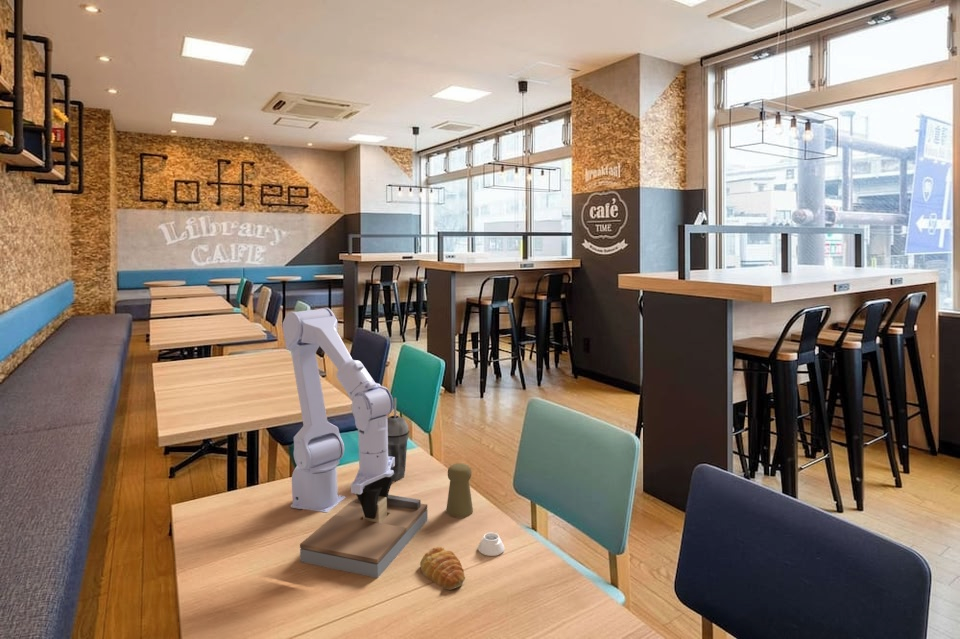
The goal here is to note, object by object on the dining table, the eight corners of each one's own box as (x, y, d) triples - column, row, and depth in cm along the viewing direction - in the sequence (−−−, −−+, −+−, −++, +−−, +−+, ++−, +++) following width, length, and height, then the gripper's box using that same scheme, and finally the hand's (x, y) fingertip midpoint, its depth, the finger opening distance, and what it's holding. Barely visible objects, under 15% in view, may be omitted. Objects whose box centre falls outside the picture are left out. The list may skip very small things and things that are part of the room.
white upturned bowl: (473, 549, 116) (488, 560, 112) (473, 535, 115) (488, 546, 111) (493, 541, 119) (509, 552, 115) (493, 527, 118) (509, 537, 114)
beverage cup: (376, 481, 146) (374, 402, 143) (386, 469, 153) (384, 394, 150) (405, 483, 145) (403, 404, 142) (413, 471, 152) (412, 395, 149)
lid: (300, 548, 110) (299, 536, 109) (360, 497, 130) (360, 487, 130) (377, 563, 105) (377, 551, 104) (427, 508, 125) (427, 497, 125)
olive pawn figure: (474, 507, 133) (474, 460, 131) (471, 520, 127) (471, 471, 125) (448, 506, 133) (447, 459, 131) (443, 519, 127) (443, 470, 125)
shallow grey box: (300, 564, 110) (300, 549, 110) (360, 510, 131) (360, 497, 130) (377, 580, 105) (377, 564, 105) (427, 522, 126) (427, 509, 125)
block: (363, 534, 120) (362, 502, 119) (372, 526, 123) (371, 494, 122) (379, 537, 119) (378, 504, 117) (387, 529, 122) (386, 497, 121)
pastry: (474, 584, 104) (474, 564, 104) (441, 597, 101) (440, 577, 100) (448, 559, 112) (447, 540, 112) (416, 571, 109) (415, 551, 108)
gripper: (373, 465, 110) (375, 533, 112) (407, 438, 123) (408, 500, 126) (340, 460, 112) (342, 527, 114) (377, 434, 126) (378, 495, 128)
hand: (375, 512), depth 120 cm, fingers closed on block, 3 cm apart
